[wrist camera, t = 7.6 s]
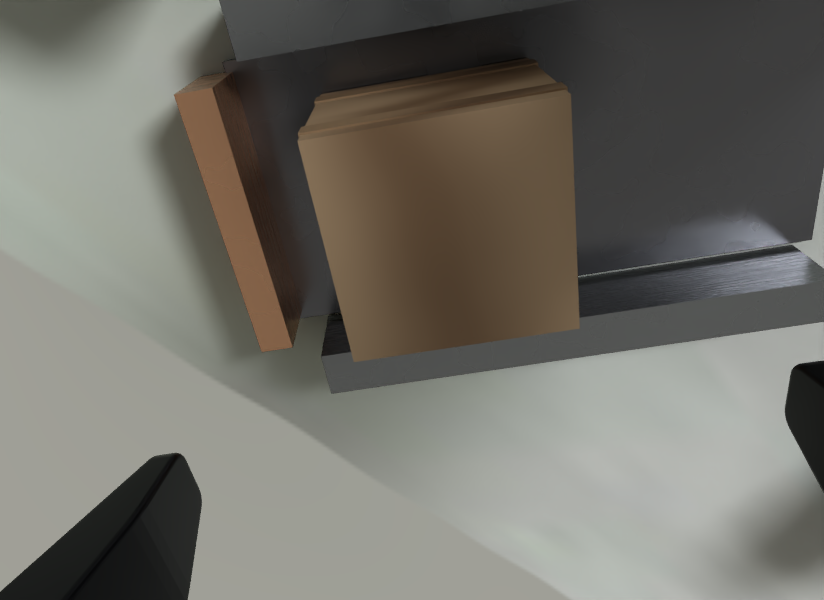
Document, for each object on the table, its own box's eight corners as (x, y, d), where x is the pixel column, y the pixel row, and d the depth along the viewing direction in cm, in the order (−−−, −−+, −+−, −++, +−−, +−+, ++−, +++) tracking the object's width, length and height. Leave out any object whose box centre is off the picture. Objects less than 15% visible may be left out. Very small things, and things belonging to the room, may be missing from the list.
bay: (914, -423, 13) (1208, -631, 9) (801, 281, 22) (917, 377, 17) (16, -231, 15) (-173, -317, 10) (236, 366, 23) (194, 478, 18)
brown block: (529, 55, 18) (573, 91, 13) (542, 249, 21) (581, 329, 16) (318, 92, 18) (294, 139, 14) (361, 277, 21) (352, 364, 17)
